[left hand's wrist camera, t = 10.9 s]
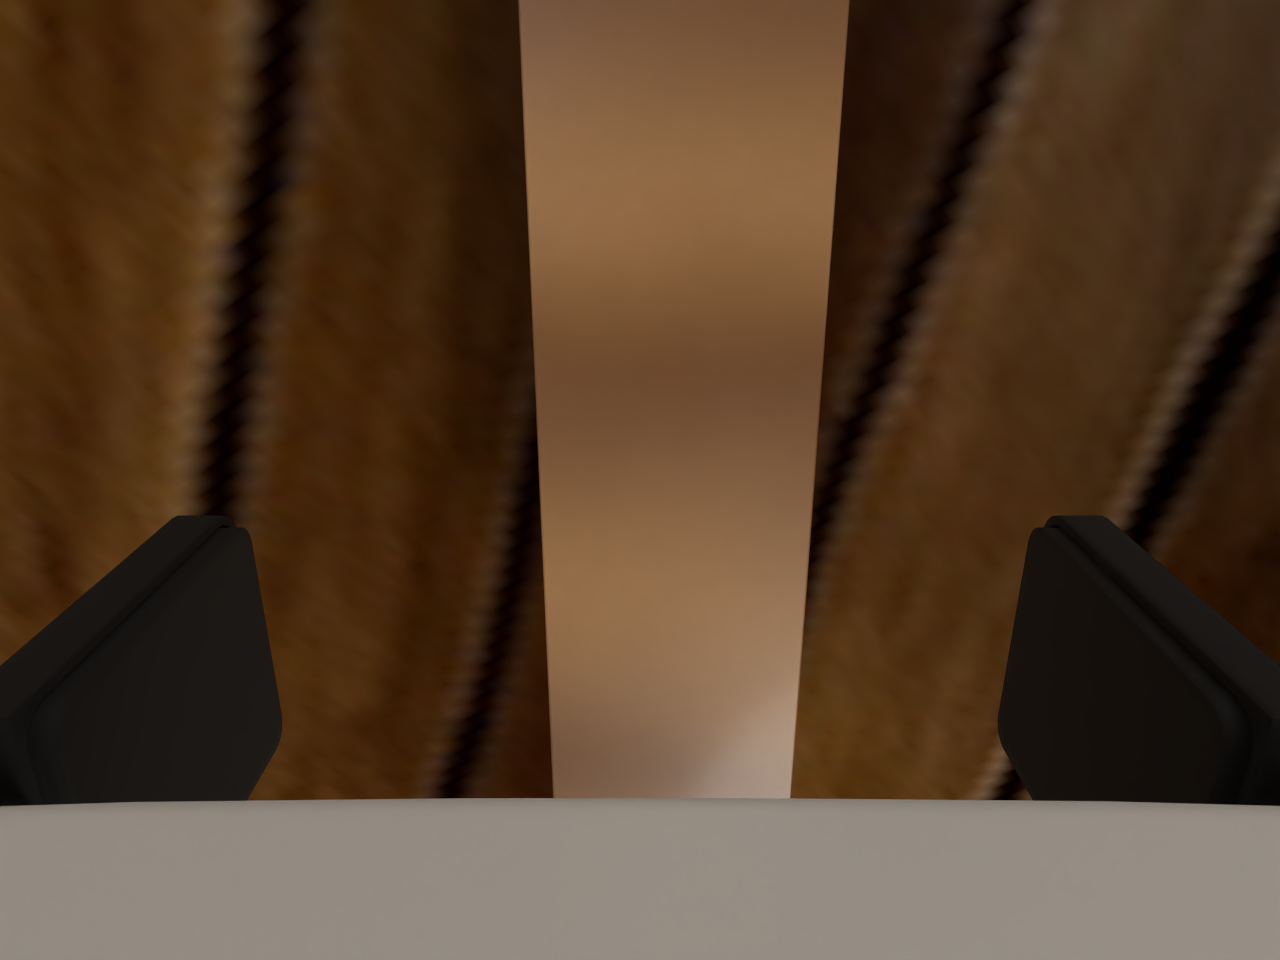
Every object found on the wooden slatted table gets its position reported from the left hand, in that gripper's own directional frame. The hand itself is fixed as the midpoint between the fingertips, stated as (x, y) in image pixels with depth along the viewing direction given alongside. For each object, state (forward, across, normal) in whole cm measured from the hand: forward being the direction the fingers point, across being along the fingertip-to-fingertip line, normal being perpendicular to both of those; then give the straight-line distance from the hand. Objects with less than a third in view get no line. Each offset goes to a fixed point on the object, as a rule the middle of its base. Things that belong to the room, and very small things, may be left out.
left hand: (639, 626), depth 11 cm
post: (+14, -1, -18) cm, 23 cm away
